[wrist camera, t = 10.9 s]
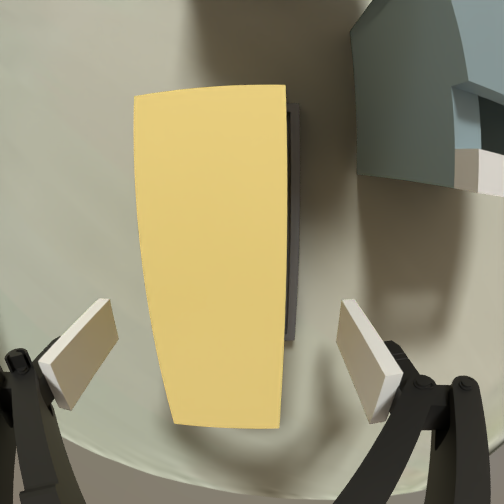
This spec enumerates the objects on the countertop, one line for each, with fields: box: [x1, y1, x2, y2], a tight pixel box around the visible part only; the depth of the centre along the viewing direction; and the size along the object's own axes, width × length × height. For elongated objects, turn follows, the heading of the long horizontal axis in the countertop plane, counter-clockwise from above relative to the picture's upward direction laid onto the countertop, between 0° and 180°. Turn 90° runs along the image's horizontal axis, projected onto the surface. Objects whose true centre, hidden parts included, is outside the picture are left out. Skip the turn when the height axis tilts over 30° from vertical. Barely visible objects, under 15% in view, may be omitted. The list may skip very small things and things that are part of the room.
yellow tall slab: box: [134, 85, 287, 429], centre depth 16 cm, size 5×14×12 cm, turn 1°
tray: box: [284, 103, 300, 341], centre depth 22 cm, size 9×18×2 cm, turn 1°
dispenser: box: [350, 0, 504, 197], centre depth 13 cm, size 9×12×14 cm
